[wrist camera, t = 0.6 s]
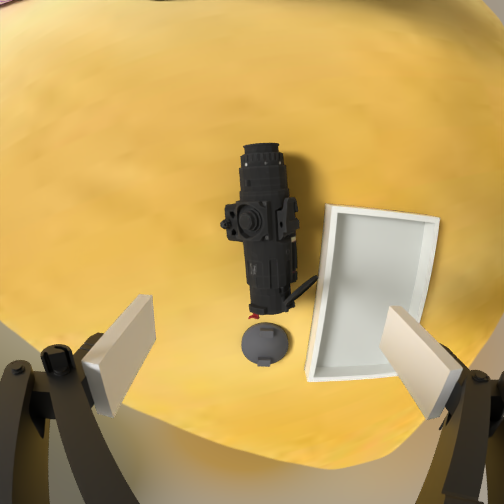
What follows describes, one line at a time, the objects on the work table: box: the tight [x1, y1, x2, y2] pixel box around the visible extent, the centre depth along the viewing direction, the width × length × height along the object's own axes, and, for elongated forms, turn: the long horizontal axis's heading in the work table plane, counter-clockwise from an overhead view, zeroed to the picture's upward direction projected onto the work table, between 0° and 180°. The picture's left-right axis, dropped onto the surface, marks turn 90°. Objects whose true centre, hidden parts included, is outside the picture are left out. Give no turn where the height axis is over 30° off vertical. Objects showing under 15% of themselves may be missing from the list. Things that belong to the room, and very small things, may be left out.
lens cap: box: [242, 322, 288, 367], centre depth 37 cm, size 6×6×2 cm
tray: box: [304, 203, 440, 382], centre depth 35 cm, size 22×14×3 cm, turn 177°
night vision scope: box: [220, 143, 318, 319], centre depth 31 cm, size 8×18×10 cm
